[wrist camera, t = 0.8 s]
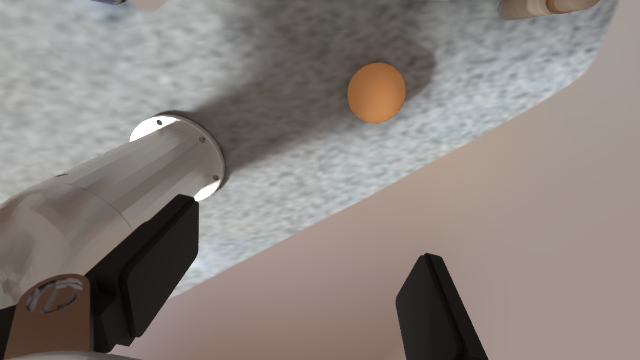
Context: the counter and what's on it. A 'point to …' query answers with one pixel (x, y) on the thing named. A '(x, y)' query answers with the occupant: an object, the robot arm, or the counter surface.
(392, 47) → the counter surface
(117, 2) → the flask
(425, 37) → the counter surface
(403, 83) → the ball
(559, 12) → the pin side
